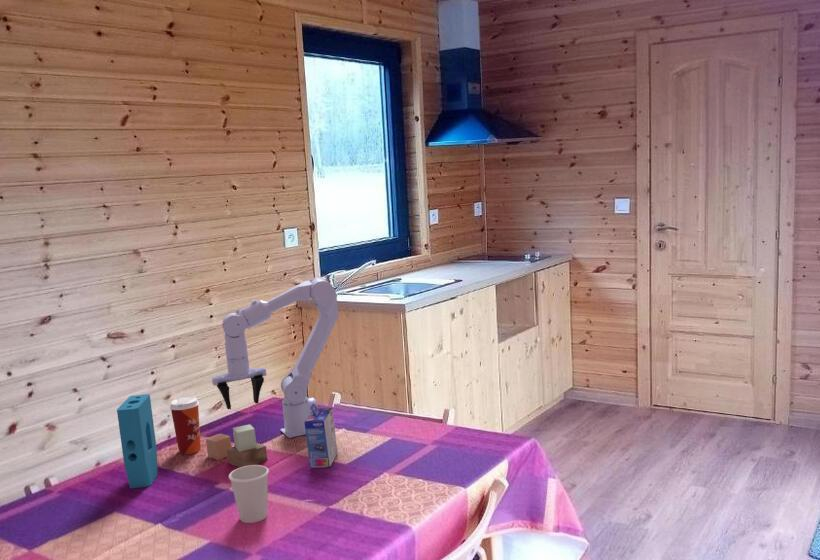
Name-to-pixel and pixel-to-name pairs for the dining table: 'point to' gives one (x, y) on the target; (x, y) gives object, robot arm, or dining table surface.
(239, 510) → the dixie cup
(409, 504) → the dining table surface
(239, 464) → the walnut base
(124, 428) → the block
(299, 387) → the robot arm
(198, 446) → the paper cup
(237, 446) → the sage cube
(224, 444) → the terracotta cube
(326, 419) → the ink cartridge box
